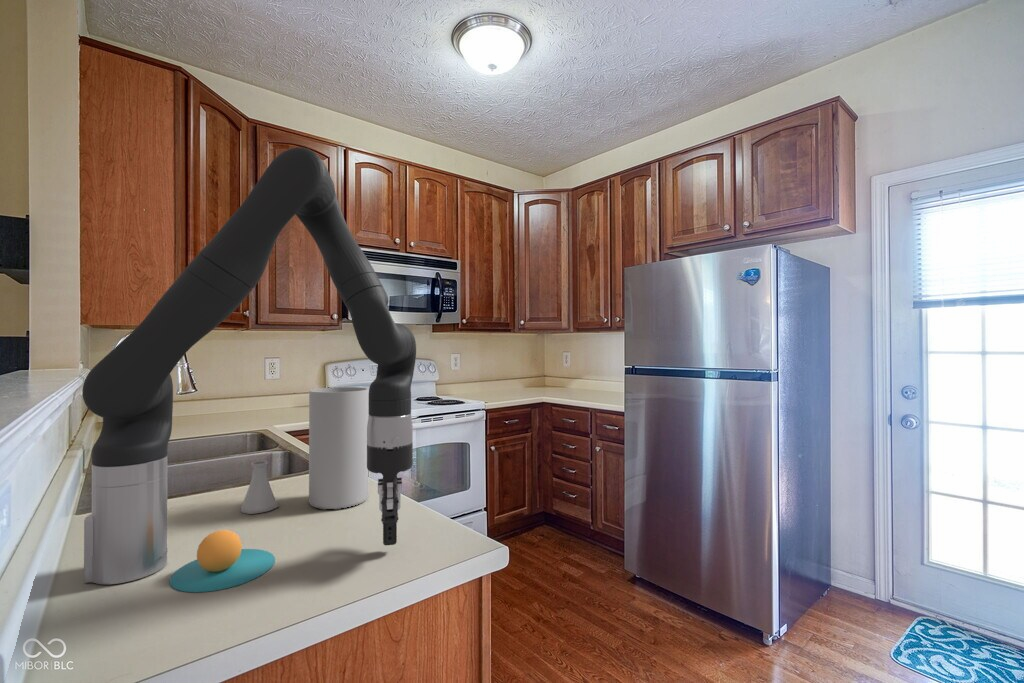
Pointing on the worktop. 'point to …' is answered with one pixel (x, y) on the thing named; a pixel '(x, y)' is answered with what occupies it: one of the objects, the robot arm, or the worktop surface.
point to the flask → (259, 491)
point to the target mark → (222, 573)
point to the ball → (219, 550)
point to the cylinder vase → (338, 447)
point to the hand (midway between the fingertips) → (389, 543)
